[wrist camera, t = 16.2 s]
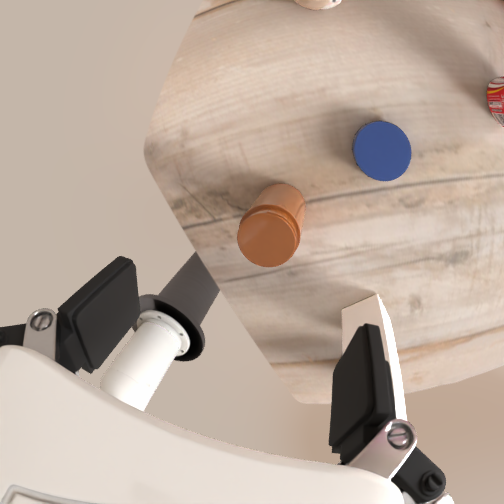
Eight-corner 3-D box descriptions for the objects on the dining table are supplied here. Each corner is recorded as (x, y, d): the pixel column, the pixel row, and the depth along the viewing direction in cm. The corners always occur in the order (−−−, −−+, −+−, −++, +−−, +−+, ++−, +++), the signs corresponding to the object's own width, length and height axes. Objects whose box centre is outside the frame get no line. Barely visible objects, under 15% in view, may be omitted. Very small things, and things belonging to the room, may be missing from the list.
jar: (299, 234, 34) (291, 276, 26) (254, 223, 35) (230, 261, 27) (310, 189, 32) (305, 219, 23) (261, 178, 32) (238, 203, 24)
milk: (356, 333, 40) (355, 464, 21) (340, 308, 38) (335, 450, 19) (391, 319, 37) (408, 452, 18) (378, 292, 35) (398, 436, 17)
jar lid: (358, 114, 26) (360, 113, 24) (412, 132, 25) (417, 133, 23) (346, 168, 29) (348, 171, 28) (398, 184, 28) (402, 188, 27)
